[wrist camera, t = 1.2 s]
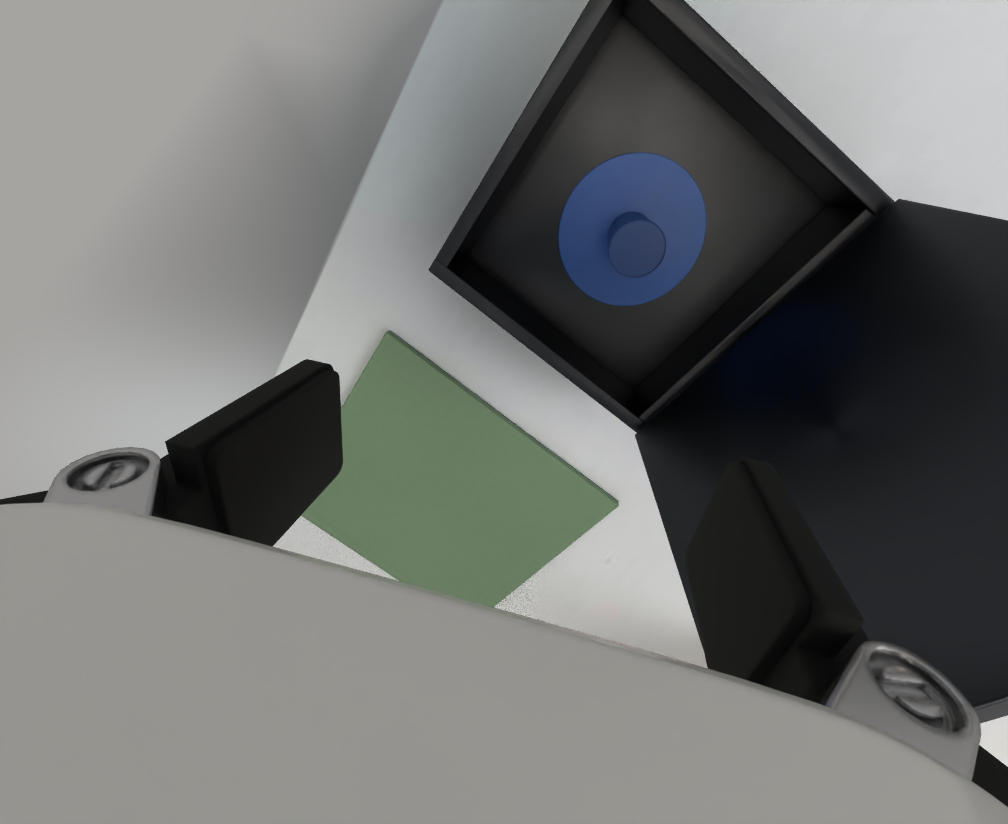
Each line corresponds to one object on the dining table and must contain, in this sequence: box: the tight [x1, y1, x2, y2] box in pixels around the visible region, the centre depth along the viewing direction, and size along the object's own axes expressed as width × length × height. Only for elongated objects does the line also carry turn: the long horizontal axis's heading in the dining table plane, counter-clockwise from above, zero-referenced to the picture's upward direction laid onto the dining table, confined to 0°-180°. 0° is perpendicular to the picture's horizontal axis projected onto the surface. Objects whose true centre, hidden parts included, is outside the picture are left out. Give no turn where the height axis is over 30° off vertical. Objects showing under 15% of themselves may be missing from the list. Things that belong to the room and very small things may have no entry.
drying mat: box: [301, 331, 619, 607], centre depth 38 cm, size 22×22×1 cm
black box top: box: [635, 199, 1008, 723], centre depth 15 cm, size 16×16×1 cm
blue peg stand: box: [558, 152, 707, 306], centre depth 22 cm, size 8×8×7 cm
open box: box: [429, 0, 895, 433], centre depth 24 cm, size 16×16×5 cm
